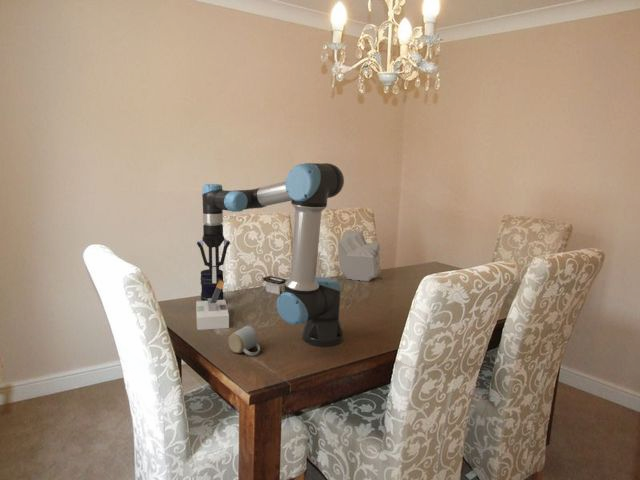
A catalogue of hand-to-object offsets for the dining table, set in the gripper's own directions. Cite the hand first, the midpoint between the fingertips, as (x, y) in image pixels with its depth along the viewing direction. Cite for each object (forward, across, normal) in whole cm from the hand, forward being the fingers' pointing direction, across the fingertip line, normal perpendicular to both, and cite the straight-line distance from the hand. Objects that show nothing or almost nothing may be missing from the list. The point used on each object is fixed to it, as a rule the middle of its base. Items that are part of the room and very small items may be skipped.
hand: (214, 282), depth 185 cm
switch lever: (+10, +1, 0) cm, 10 cm away
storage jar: (+16, 0, -21) cm, 26 cm away
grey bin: (+16, -30, -34) cm, 48 cm away
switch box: (+16, +1, -1) cm, 16 cm away
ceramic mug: (+17, -9, +32) cm, 37 cm away
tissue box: (+16, -81, -51) cm, 97 cm away
